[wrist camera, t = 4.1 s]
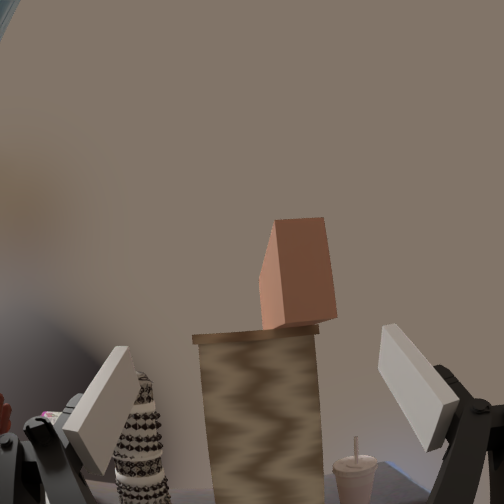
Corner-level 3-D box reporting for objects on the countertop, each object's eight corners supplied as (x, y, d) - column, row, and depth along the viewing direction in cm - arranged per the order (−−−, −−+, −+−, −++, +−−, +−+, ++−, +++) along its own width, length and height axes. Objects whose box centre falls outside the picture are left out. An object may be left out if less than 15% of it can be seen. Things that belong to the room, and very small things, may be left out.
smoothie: (341, 530, 30) (340, 447, 34) (327, 511, 36) (324, 435, 40) (383, 517, 31) (385, 435, 35) (365, 501, 37) (365, 426, 41)
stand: (220, 564, 24) (192, 334, 33) (230, 513, 39) (212, 337, 47) (329, 555, 24) (318, 324, 33) (312, 506, 39) (300, 329, 47)
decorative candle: (117, 524, 32) (90, 374, 39) (124, 500, 41) (104, 370, 47) (175, 525, 34) (153, 374, 41) (174, 501, 43) (157, 370, 50)
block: (285, 323, 23) (274, 220, 26) (263, 333, 46) (258, 279, 49) (337, 317, 24) (323, 217, 26) (290, 330, 47) (285, 277, 49)
